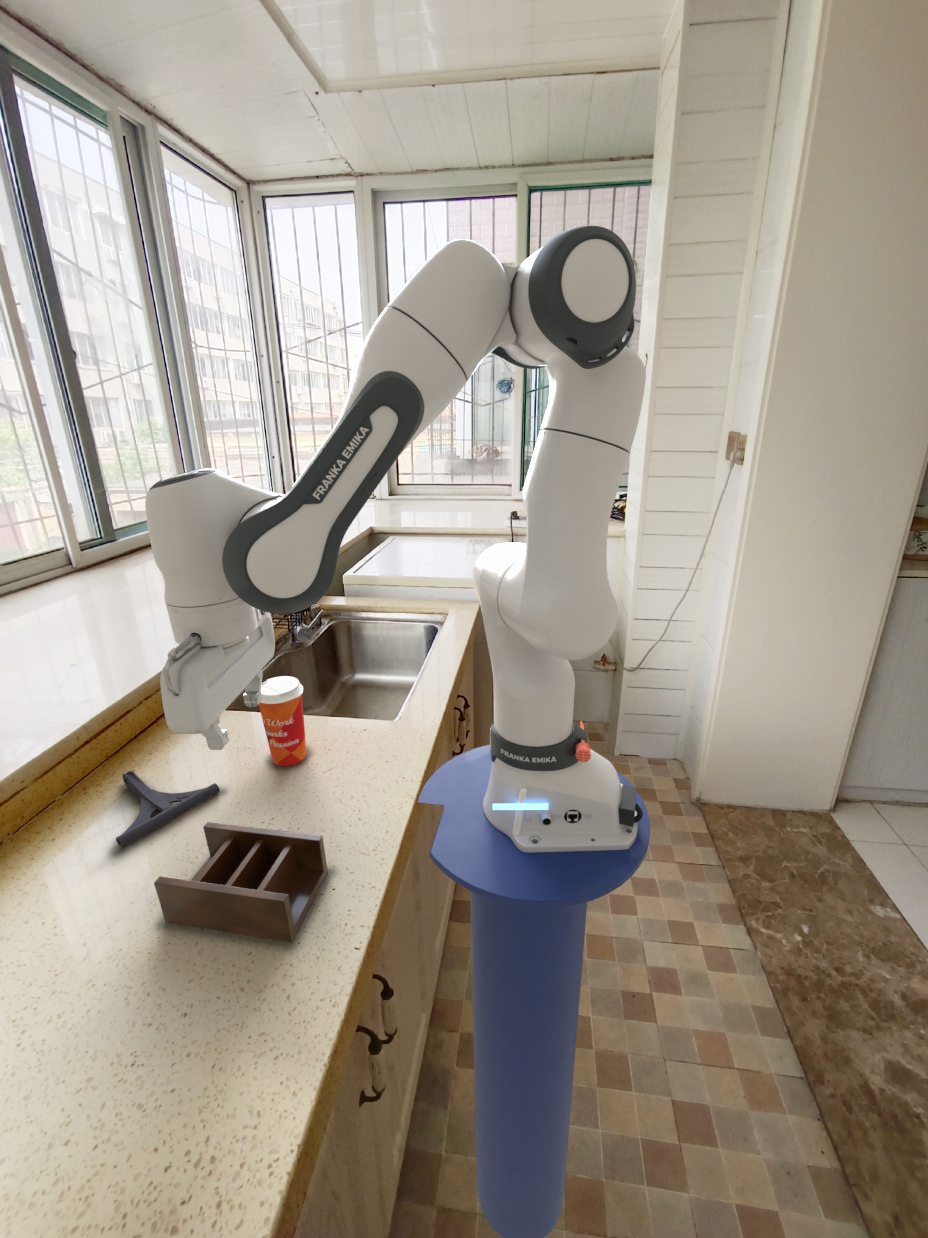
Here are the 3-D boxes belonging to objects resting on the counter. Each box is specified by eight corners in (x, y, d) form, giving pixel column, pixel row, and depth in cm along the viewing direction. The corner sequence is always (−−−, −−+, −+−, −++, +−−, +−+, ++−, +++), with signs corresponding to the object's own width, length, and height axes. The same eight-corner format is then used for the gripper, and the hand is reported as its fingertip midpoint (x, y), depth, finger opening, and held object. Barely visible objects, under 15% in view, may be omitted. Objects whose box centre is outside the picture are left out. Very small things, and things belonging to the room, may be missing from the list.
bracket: (173, 762, 93) (169, 748, 92) (220, 793, 85) (217, 779, 84) (79, 809, 83) (74, 794, 82) (123, 851, 74) (118, 835, 73)
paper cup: (256, 765, 92) (243, 692, 87) (284, 741, 98) (273, 672, 94) (296, 774, 89) (284, 699, 84) (321, 748, 96) (312, 677, 91)
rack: (328, 872, 70) (322, 835, 68) (291, 942, 61) (284, 901, 58) (216, 858, 73) (207, 821, 70) (165, 922, 63) (153, 883, 61)
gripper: (193, 657, 51) (222, 778, 56) (275, 590, 70) (292, 684, 75) (129, 658, 52) (164, 777, 57) (228, 591, 71) (248, 685, 76)
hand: (237, 724), depth 66 cm, fingers open, 8 cm apart
